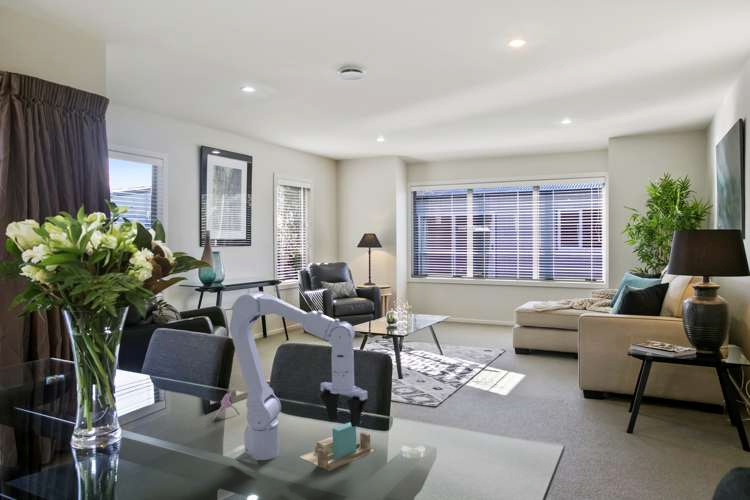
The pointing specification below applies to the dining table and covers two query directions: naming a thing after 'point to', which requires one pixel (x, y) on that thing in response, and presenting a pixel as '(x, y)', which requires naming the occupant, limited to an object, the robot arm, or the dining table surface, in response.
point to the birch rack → (329, 463)
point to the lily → (226, 403)
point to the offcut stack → (325, 445)
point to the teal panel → (344, 441)
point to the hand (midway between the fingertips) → (343, 422)
